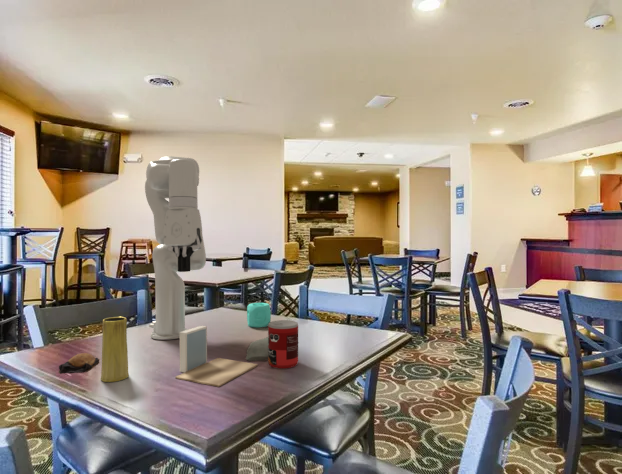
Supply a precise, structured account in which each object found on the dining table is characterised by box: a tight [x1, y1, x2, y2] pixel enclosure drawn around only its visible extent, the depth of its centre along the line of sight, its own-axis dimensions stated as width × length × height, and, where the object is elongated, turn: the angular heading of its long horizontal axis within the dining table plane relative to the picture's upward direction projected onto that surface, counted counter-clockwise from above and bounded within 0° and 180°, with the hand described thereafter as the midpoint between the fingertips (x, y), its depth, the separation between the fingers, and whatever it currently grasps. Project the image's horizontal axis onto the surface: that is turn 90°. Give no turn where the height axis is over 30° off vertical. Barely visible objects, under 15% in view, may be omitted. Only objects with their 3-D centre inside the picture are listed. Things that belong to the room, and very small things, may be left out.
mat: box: [175, 357, 258, 387], centre depth 100 cm, size 13×16×1 cm
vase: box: [100, 316, 130, 383], centre depth 96 cm, size 6×6×14 cm
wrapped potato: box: [58, 352, 100, 374], centre depth 104 cm, size 11×8×4 cm
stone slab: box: [245, 336, 268, 362], centre depth 120 cm, size 22×3×10 cm
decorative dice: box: [246, 302, 272, 329], centre depth 151 cm, size 8×8×8 cm
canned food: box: [267, 319, 299, 369], centre depth 105 cm, size 8×8×11 cm
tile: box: [179, 325, 208, 373], centre depth 103 cm, size 2×8×10 cm, turn 155°
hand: (184, 271), depth 108 cm, fingers closed
